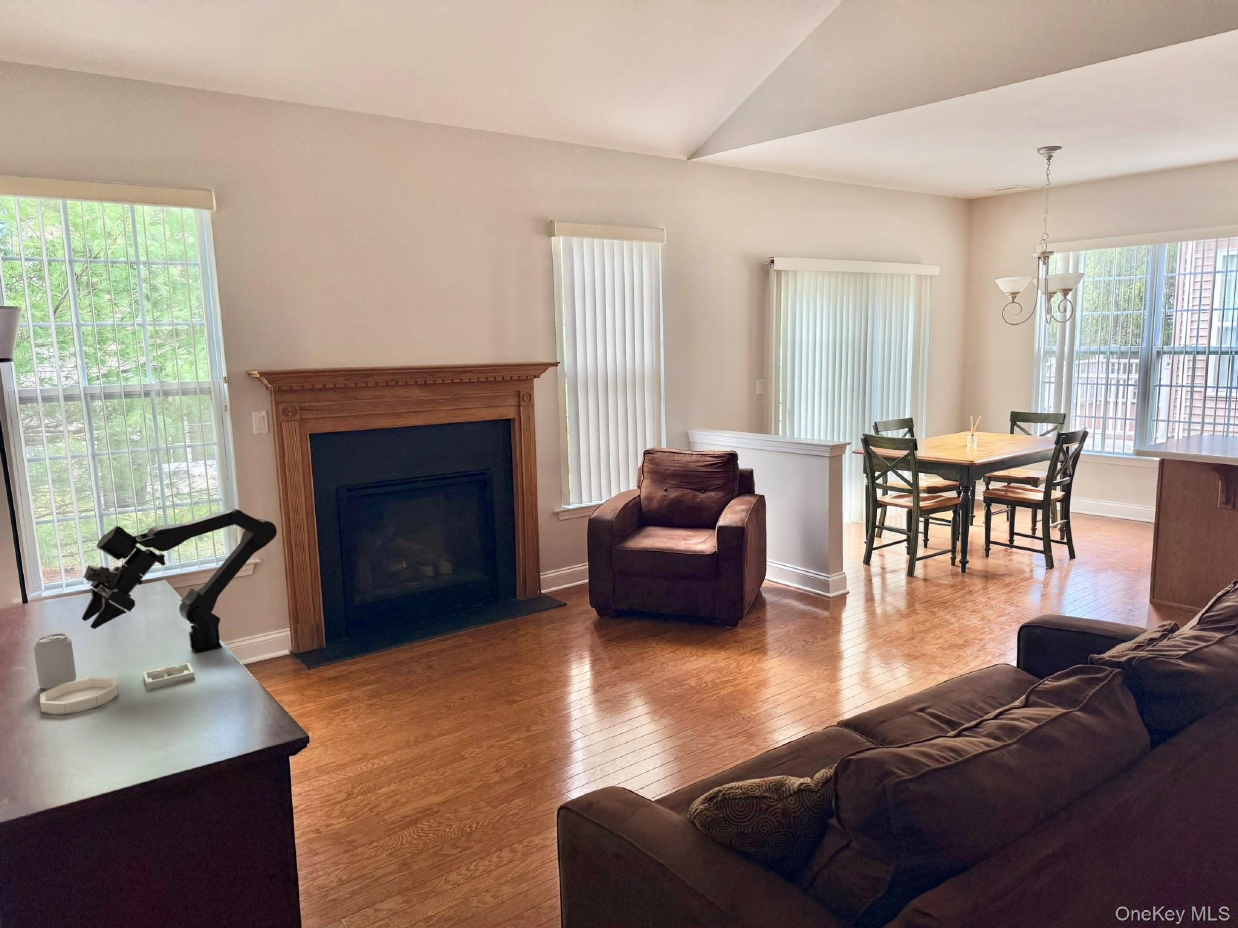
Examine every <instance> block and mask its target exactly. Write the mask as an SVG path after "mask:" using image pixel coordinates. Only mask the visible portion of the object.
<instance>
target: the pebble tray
mask: <svg viewBox="0 0 1238 928" xmlns="http://www.w3.org/2000/svg"><path fill="white" fill-rule="evenodd" d="M171 666H172V667H174V668H175V667H177V666H180V667H182V668H183V669H184V673H183V674H179V675H175V676H174V675H173V674H171V675H168V674H165V676H164V677H162V678H161V679H157V680H152V675H153V674H154V673H156V672H157V671H158V670H159V669H160V668H158V669H154V670H149V671H144V672H142V677H143V678H142V679H143V682H144V685H145V688H146V690H147V691H151V690H153V689H157V688H162V687H167V686H171V685H175V684H179V683H183V682H189V681H193V680H195V679H196V677H195V671H194V669H193V667H192V666H191V663H190V662H186V663H181V664H177V665H176V664H175V665H171ZM167 667H168V666H167ZM167 667H163V668H161V669H163V670H165V669H166V668H167Z"/></svg>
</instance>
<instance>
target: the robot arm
mask: <svg viewBox="0 0 1238 928" xmlns="http://www.w3.org/2000/svg"><path fill="white" fill-rule="evenodd" d="M231 526H236V527H239V528H241V529H243V530H244V531H243V533H242V535H241V538H240V541H239V543H238V545H237V546H236V547H235V548H234V550H233V551H232V552H231V553H230V554H229V555H228V556H227V558H226V559H225V560H224V561H223V562H222V564H221V565H220V566H219V567H218V568H217V569H216V571H215V572H214V573H213V575H212V576H211V577H210V578H209V579H208V581H207V582H206V583H204V585H203V586H201V587H200V588H199V589H195V588H193V587H191V588H190V590H189V591H188V592H187V594H186V595H185V596H184V597H183V598H181V599H180V601H181V603H180V604H179V607H178V610H179V614H180V616H181V617H182V618H183V619H185V620H186V621H188V622H189V623H190V624H191V625H190V631H189V632H188V637H189V646H190V649H191V650H193V652H194V653H196V654H197V653H202V652H205V651H206V652H207V651H211V650H212V651H213V650H215V649H220V648H223V645H222V643H221V639H220V638H221V637H220V628H219V625H220V621H221V618H220V617H219V616H218V615H216V614H215V613H213V610H214V608H215V607H216V603H217V601H218V598H219V596H220V595H221V593H223V591H224V590H225V589H226V588H227V586H228V585H229V584H230V583H231V582H232V580H233V579H234V578H235V577H236V576H237V574H239V573H240V571H241V570H242V568H243V567H244V566H245V564H246V563H247V562H248V561H249V559H251V558H252V556H253V555H254V554H255V553H258V551H260V550H262V549H263V548H265V547H267V545H268V544H270V542H272V541H273V540H274V539H275V537H277V534H278V532H277V531H278V530H277V527H276V524H274V523H273V522H271V521H269V520H266V519H263V518H255V517H252V516H251V515H249V514H247V513H244V512H243V511H242V510H240V509H238V508H233V507H231V508H228V509H226V510H224V511H220V512H217V513H213V514H210V515H207V516H204V517H200V518H197V519H193V520H190V521H187V522H183V523H176V524H175V523H173V524H163V525H156V526H155V525H154V526H153V527H151V528H149V529H148V530H147V532H144V533H141V534H136V535H134V536H133V535H132V534H130V533H128V532H127V531H126V530H125V528H122V527H121V526H119V525H115V526H114V527H113V528H112V529H110V530H109V531H108V532H106V533H104V534H103V536H101V538H100V539H99V540H98V542H97V544H96V548H97V549H98V550H101V552H104V553H105V554H107V555H108V556H110V557H112V558H113V559H114V560H116V561H120V560H121V559H123V560H125V561H124V562H123V563H122V564H121V566H119V565H117V566H115V567H113V569H110V568H109V567H108V566H107V567H106V566H105V567H104V566H102V565H100V567H99V566H95V565H94V566H93V565H89V564H88V566H87V567H86V570H85V572H84V576H83V579H85V581H88V582H91V584H90V585H89V586H90V588H89V590H90V594H91V598H90V600H89V602H88V604H87V607H86V609H85V611H84V613H83V615H82V617H81V620H82V621H84V622H86V621H89V620H90V619H92V618H93V617H95V618H94V620H93V621H92V623H91V624H90V628H91V629H93V630H95V629H97V628H99V627H101V626H102V625H105V624H107V623H108V622H110V621H112V620H114V619H116V618H118V617H120V616H122V615H124V614H127V612H129V613H130V612H132V610H133V609H134V608H135V606H136V600H135V599H133V598H132V594H131V593H132V591H133V590H134V589H135V588H136V587H137V585H140V586H141V585H142V584H143V582H144V581H143V578H144V577H145V576H147V575H146V574H148V572H149V571H150V570H152V568H153V566H154V565H156V563H157V564H159V565H161V566H166V561H165V558H166V557H165V556H166V555H165V554H164V553H159V554H158V553H156V552H154V551H153V550H152V549H154V550H156V551H158V552H167V551H170V550H173V549H174V548H176V547H178V546H180V545H182V544H183V543H185V542H186V541H188V540H190V539H192V538H195V537H198V536H199V537H200V536H202V535H206V534H209V533H211V532H215V531H217V530H221V529H224V528H228V527H231ZM137 545H139V546H141V547H144V548H145V549H144V550H143V549H142V548H140V547H139V546H137ZM150 548H152V549H150ZM219 641H220V642H219Z"/></svg>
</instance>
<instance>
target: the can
mask: <svg viewBox="0 0 1238 928" xmlns="http://www.w3.org/2000/svg"><path fill="white" fill-rule="evenodd" d="M35 642H36V643H35V645H34V646H33V651H34V660H35V667H36V673H37V681H38V686H39V687H40V688H42V689H43V690H45V691H48V690H50V689H52V688H54V687H56V686H58V685H60V684H63V683H67V682H71V681H76V679H77V673H76V671H77V670H76V666H75V656H74V649H73V643H72V638H70V637H68V633H64V632H60V633H59V632H57V633H52V634H47V635H43V636H41V637H38V638H37V639H36V640H35Z"/></svg>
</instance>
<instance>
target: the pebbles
mask: <svg viewBox="0 0 1238 928" xmlns="http://www.w3.org/2000/svg"><path fill="white" fill-rule="evenodd" d="M172 666H173V665H169V666H167V668H166V667H165V668H166V669H165V670H163V669H162V668H158V669H159V670H158V671H157V672H156V673H154V674H153V675H152V680H157V679H161V678H162V677H164V676H165V674H168V675H171V674H173V675H174V676H175V675H179V674H183V673H184V669H183V668H182V667H180V666H177V667H175V668H174V667H172Z"/></svg>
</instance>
